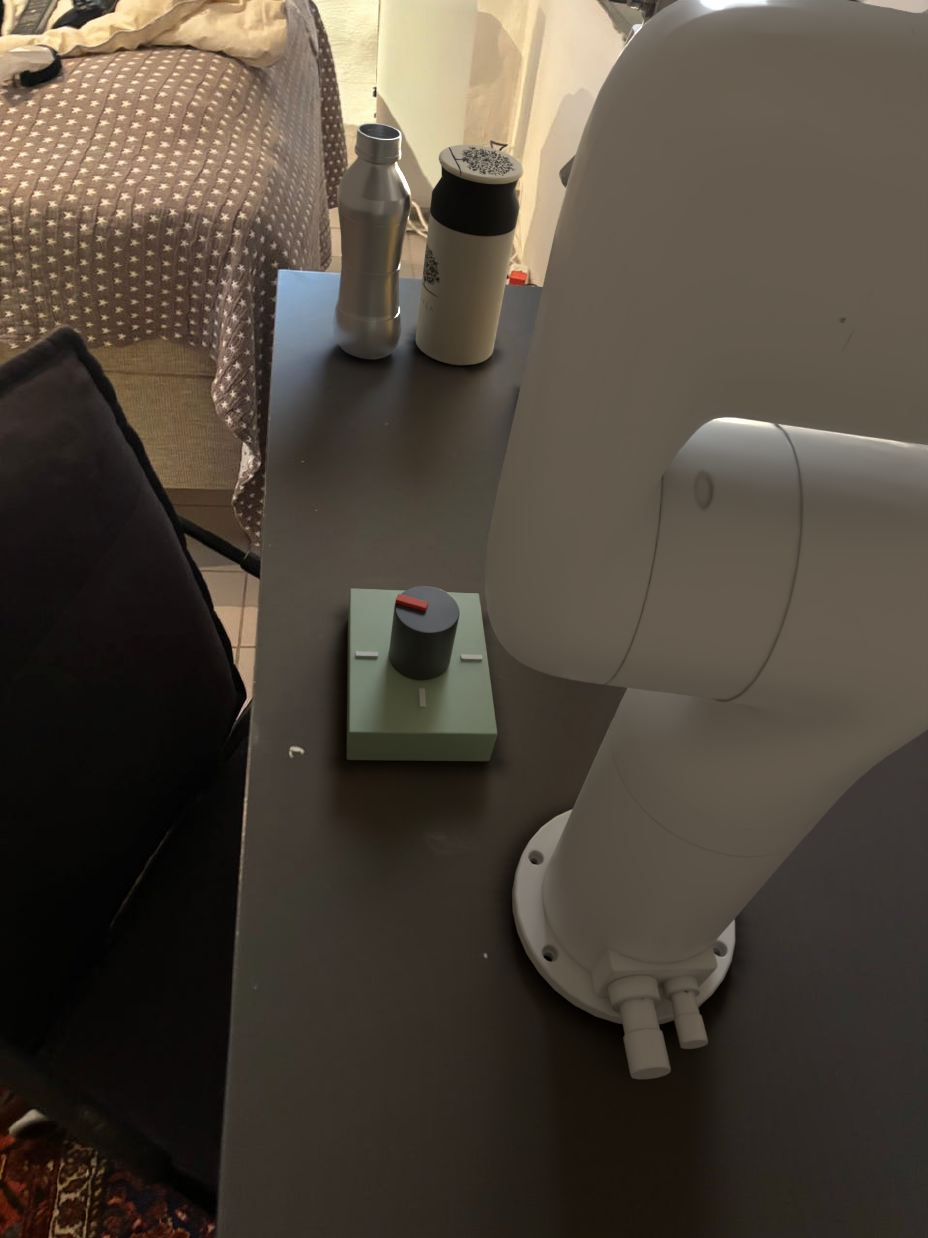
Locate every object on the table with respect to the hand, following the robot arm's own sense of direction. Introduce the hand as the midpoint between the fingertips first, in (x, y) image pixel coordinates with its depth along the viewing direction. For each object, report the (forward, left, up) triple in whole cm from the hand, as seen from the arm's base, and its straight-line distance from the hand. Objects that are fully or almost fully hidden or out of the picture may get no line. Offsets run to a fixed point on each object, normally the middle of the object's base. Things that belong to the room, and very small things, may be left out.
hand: (627, 278), depth 70 cm
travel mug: (+14, +11, -16) cm, 24 cm away
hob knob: (-30, +17, -12) cm, 37 cm away
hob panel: (-30, +17, -15) cm, 38 cm away
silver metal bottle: (+12, +20, -16) cm, 28 cm away
